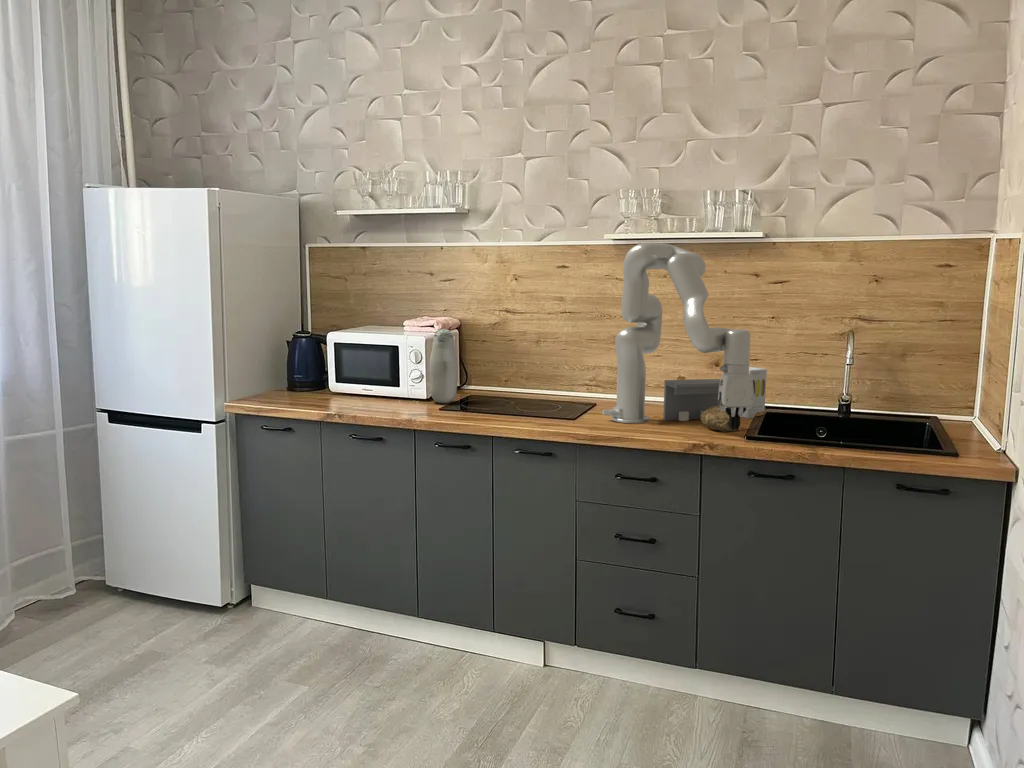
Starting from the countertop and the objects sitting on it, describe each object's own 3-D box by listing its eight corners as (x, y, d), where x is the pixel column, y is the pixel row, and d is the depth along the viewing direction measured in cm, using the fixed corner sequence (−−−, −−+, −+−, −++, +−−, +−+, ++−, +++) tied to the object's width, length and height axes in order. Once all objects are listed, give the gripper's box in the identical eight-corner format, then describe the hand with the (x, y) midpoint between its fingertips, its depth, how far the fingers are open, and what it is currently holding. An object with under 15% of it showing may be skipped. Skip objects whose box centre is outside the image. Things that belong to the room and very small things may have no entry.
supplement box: (747, 418, 289) (750, 370, 287) (726, 414, 296) (728, 367, 294) (765, 416, 295) (767, 368, 292) (744, 412, 302) (746, 365, 300)
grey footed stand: (675, 424, 277) (676, 384, 275) (663, 419, 286) (664, 380, 285) (730, 422, 281) (732, 382, 279) (717, 417, 291) (718, 378, 289)
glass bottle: (426, 402, 319) (426, 328, 315) (451, 400, 323) (451, 327, 319) (435, 405, 310) (434, 330, 306) (461, 404, 314) (460, 329, 311)
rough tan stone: (701, 426, 282) (694, 424, 263) (707, 403, 282) (700, 399, 263) (741, 436, 277) (736, 435, 258) (747, 413, 277) (743, 410, 258)
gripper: (719, 371, 251) (717, 432, 253) (764, 370, 254) (762, 430, 256) (708, 369, 258) (706, 427, 260) (752, 367, 261) (750, 425, 264)
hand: (734, 428), depth 258 cm, fingers closed
